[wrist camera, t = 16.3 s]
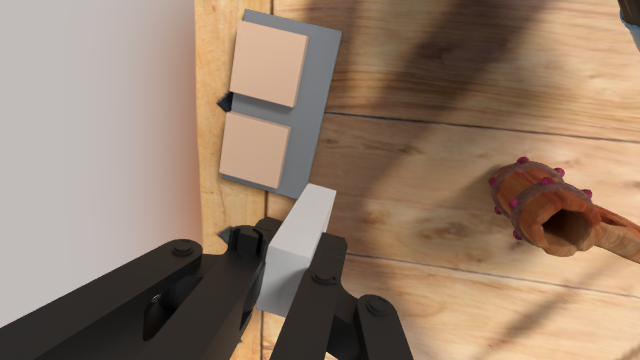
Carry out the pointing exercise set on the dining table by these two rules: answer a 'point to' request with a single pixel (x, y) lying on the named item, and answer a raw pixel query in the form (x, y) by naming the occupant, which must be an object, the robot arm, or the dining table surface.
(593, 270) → the dining table surface
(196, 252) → the robot arm
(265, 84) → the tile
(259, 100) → the slate board
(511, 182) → the mug
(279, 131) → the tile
